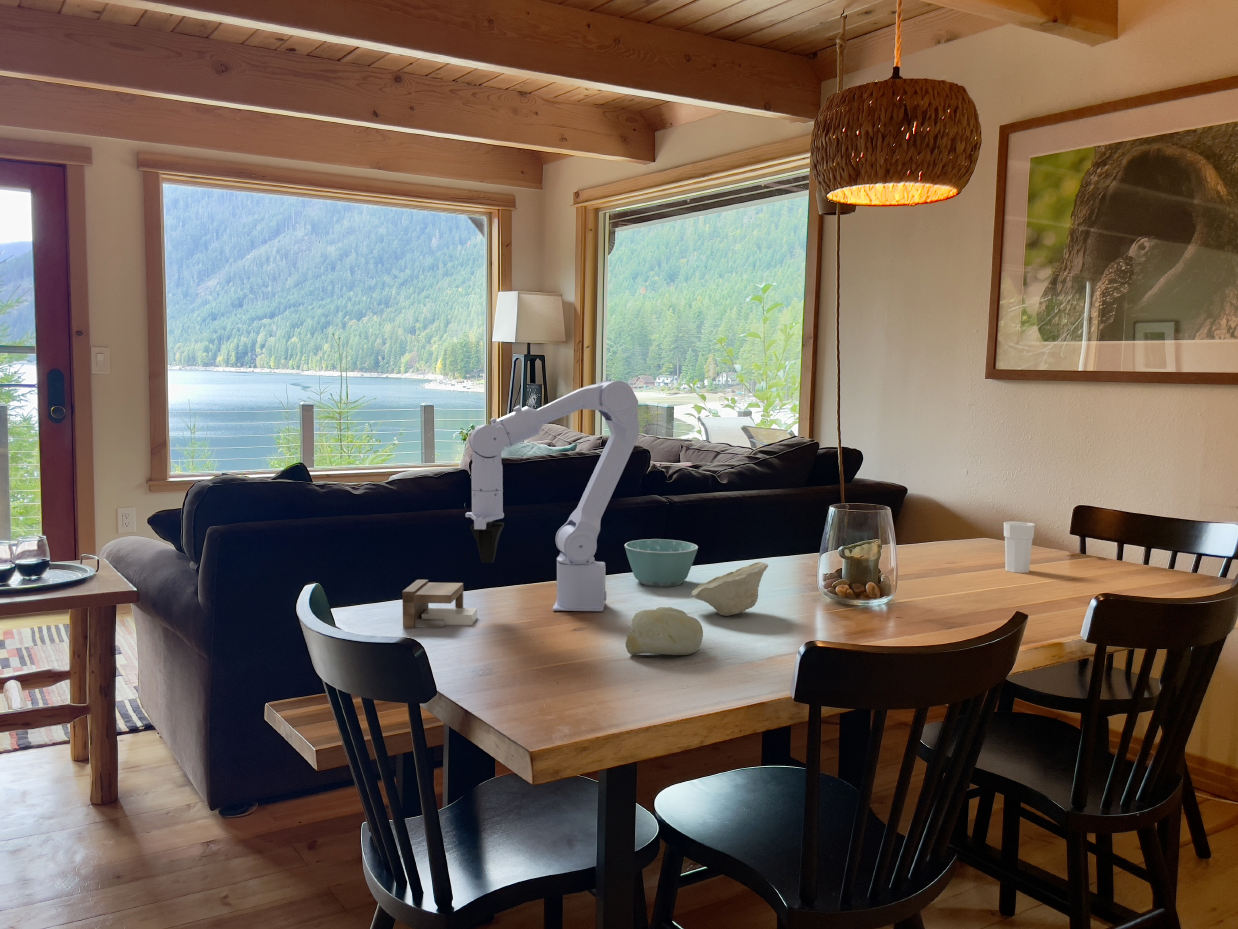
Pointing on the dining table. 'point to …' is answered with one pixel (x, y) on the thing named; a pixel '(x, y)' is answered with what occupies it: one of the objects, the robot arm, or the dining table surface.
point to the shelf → (428, 601)
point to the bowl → (660, 561)
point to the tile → (452, 615)
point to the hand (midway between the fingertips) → (487, 562)
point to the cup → (1018, 545)
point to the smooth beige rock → (664, 632)
